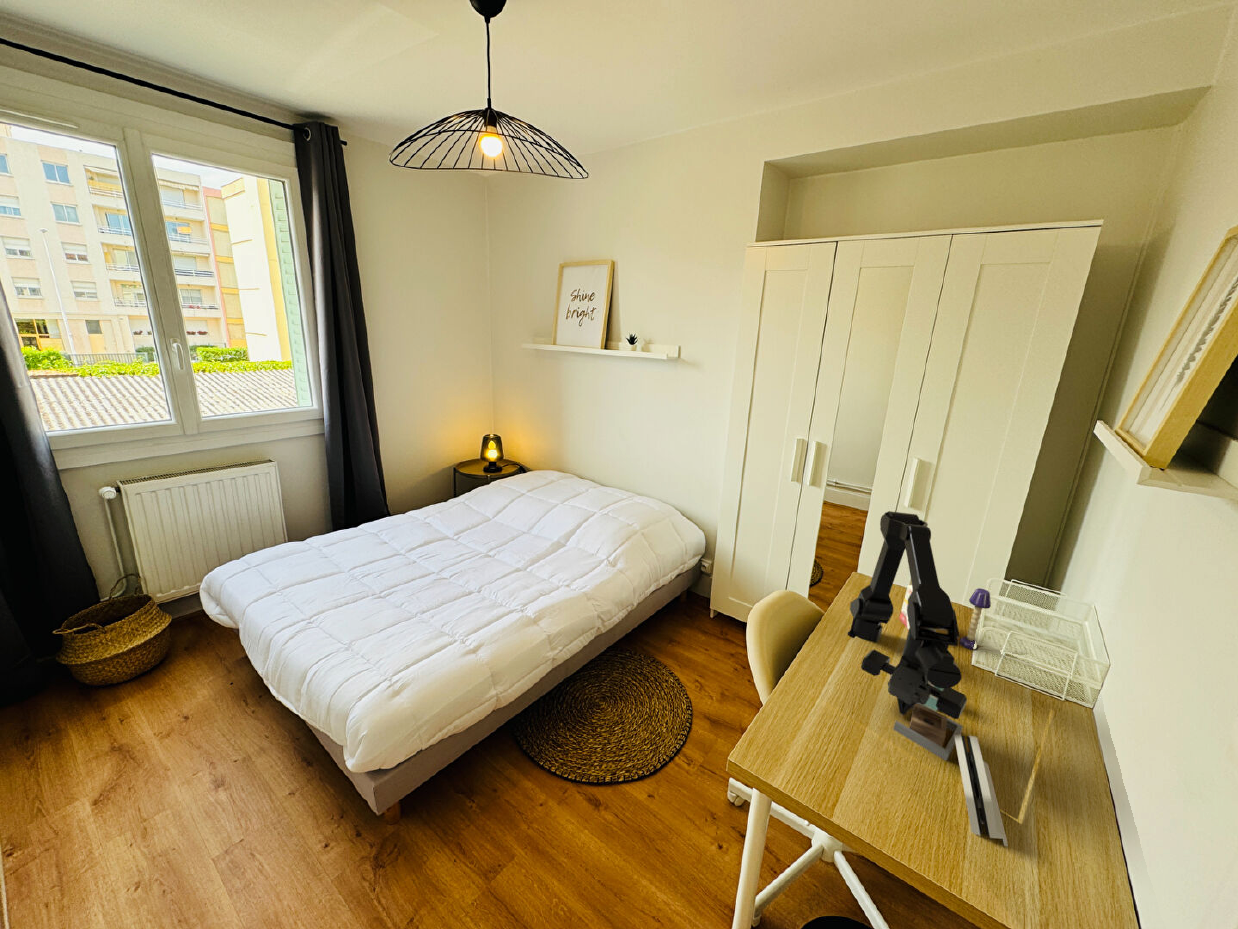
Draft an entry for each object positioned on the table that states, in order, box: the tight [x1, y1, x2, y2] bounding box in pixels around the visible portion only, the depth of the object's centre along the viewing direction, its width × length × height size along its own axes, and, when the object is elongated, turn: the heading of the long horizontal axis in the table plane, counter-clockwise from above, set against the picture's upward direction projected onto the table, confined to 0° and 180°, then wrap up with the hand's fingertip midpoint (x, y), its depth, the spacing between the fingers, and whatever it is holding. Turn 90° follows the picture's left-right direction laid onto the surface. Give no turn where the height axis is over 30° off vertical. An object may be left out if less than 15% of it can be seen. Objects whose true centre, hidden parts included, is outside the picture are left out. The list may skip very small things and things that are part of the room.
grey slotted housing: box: [954, 733, 1009, 847], centre depth 87 cm, size 17×5×10 cm, turn 152°
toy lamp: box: [958, 588, 992, 651], centre depth 129 cm, size 5×5×17 cm
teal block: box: [923, 687, 944, 712], centre depth 110 cm, size 6×6×4 cm
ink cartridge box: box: [898, 584, 913, 631], centre depth 135 cm, size 9×5×15 cm, turn 179°
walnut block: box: [908, 703, 948, 748], centre depth 101 cm, size 6×6×4 cm
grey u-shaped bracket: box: [892, 703, 964, 762], centre depth 101 cm, size 10×11×2 cm
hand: (902, 713), depth 104 cm, fingers closed
